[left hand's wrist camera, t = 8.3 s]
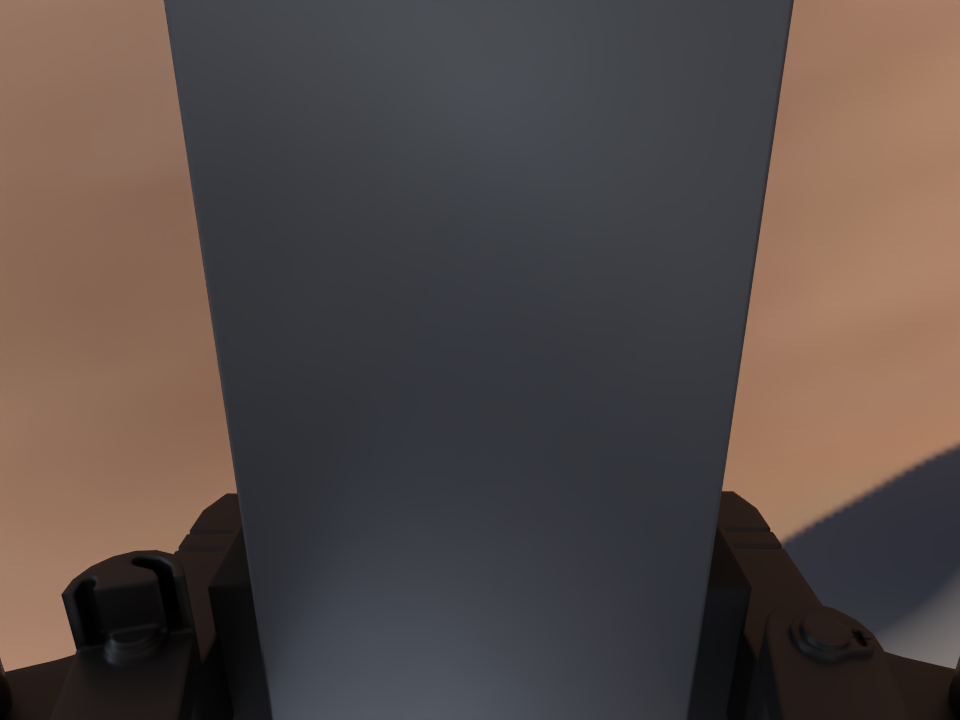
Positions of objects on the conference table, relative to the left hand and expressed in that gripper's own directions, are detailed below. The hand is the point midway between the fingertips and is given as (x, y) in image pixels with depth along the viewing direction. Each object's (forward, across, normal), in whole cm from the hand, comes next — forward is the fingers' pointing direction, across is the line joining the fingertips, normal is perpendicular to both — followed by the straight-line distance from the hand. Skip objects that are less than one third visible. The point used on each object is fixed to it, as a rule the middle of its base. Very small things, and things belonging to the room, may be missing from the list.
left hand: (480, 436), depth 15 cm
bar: (+1, 0, -22) cm, 22 cm away
